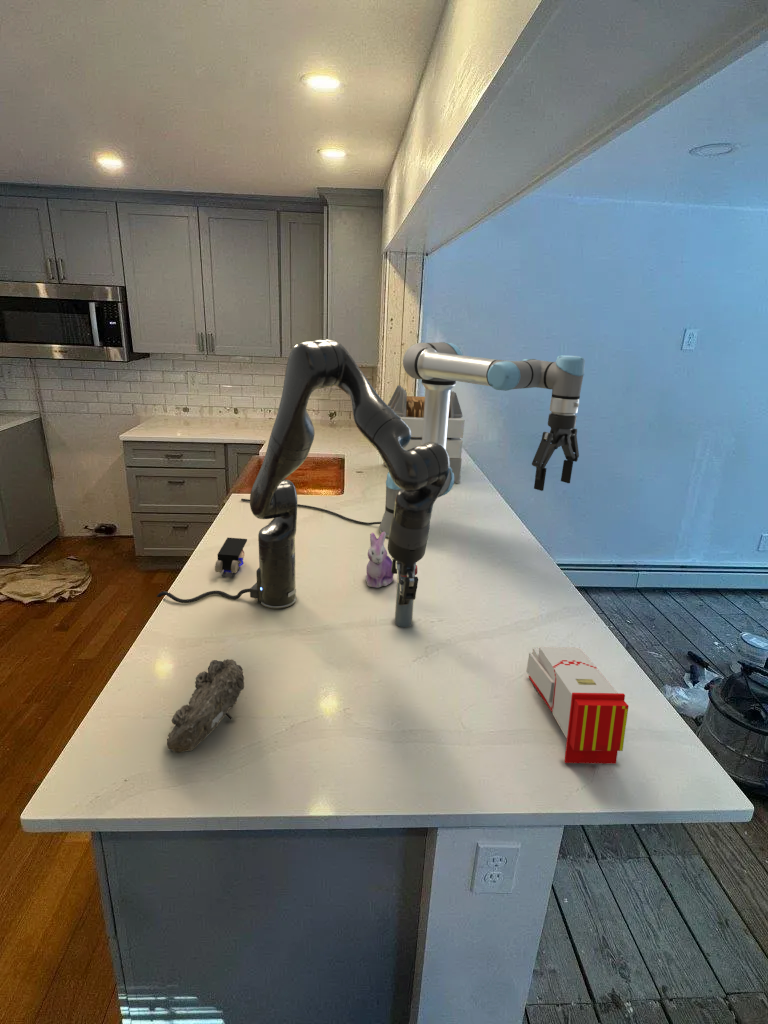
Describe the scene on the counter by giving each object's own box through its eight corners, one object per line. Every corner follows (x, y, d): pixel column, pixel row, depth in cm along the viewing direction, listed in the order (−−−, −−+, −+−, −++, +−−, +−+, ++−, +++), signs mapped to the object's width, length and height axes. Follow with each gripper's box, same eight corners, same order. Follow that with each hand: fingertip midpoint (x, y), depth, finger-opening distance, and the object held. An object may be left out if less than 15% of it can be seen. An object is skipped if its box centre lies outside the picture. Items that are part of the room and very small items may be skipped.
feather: (288, 505, 226) (290, 501, 226) (271, 529, 199) (273, 524, 199) (284, 503, 226) (287, 499, 225) (266, 526, 199) (269, 522, 199)
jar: (413, 627, 142) (417, 571, 136) (395, 627, 141) (398, 571, 136) (410, 618, 146) (414, 563, 141) (393, 618, 145) (396, 563, 140)
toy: (575, 629, 125) (638, 701, 96) (569, 684, 128) (628, 771, 99) (520, 628, 125) (567, 700, 96) (515, 683, 128) (560, 770, 98)
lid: (418, 577, 137) (419, 570, 136) (397, 577, 136) (397, 570, 136) (415, 567, 141) (416, 561, 141) (394, 567, 141) (395, 561, 140)
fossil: (192, 660, 117) (244, 628, 112) (224, 691, 120) (276, 661, 115) (142, 746, 98) (202, 712, 93) (182, 779, 101) (242, 748, 96)
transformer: (382, 463, 289) (386, 382, 275) (445, 464, 293) (451, 384, 279) (390, 482, 257) (394, 392, 243) (460, 483, 261) (468, 394, 247)
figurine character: (238, 584, 162) (249, 557, 175) (236, 562, 158) (247, 536, 172) (215, 584, 161) (227, 556, 175) (212, 561, 158) (225, 535, 171)
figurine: (372, 591, 158) (374, 542, 153) (357, 576, 166) (358, 529, 161) (402, 585, 162) (404, 537, 157) (385, 571, 171) (387, 524, 166)
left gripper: (383, 509, 114) (377, 564, 125) (396, 562, 104) (387, 616, 115) (420, 508, 115) (410, 562, 126) (436, 559, 105) (423, 613, 116)
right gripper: (548, 419, 148) (537, 496, 155) (598, 411, 163) (586, 482, 171) (525, 414, 153) (515, 489, 160) (575, 407, 169) (564, 476, 176)
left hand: (399, 587), depth 120 cm, fingers open, 8 cm apart
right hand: (552, 485), depth 166 cm, fingers open, 13 cm apart
